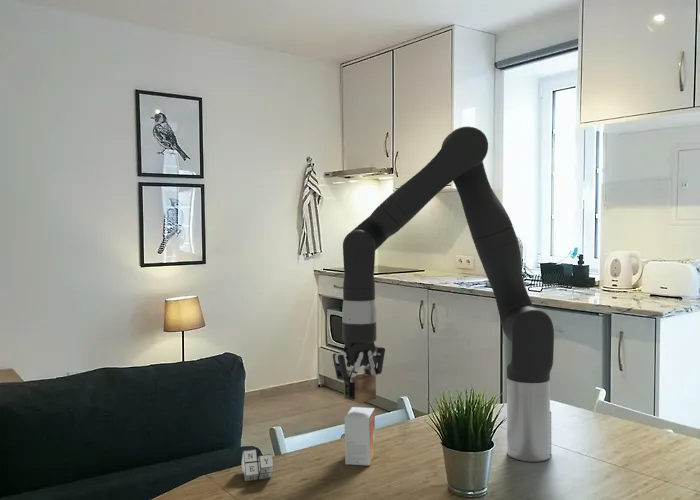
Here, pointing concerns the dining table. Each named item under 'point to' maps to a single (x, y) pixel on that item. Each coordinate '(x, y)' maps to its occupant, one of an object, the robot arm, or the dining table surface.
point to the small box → (359, 436)
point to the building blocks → (256, 465)
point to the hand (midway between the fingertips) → (359, 396)
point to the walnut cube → (364, 387)
